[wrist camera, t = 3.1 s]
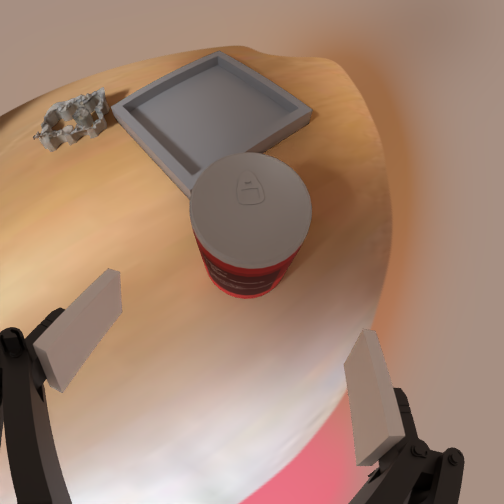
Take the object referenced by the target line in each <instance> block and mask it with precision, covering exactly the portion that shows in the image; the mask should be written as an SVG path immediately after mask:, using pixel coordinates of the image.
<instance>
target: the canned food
mask: <svg viewBox="0 0 504 504" xmlns="http://www.w3.org/2000/svg"><path fill="white" fill-rule="evenodd" d="M311 218H312V205H311V199H310V195H309V193H308V190H307V188H306V185H305V184H304V182H303V181H302V179H301V178H300V176H299V175H298V174H297V173H296V172H295V171H294V170H293V169H292V168H291V167H289V166H288V165H287V164H285V163H284V162H282V161H280V160H278V159H276V158H274V157H271V156H268V155H265V154H260V153H253V152H246V153H237V154H231V155H228V156H226V157H223V158H221V159H219V160H217V161H216V162H214V163H212V164H211V165H210V166H209V167H207V168H206V169H205V170H204V171H203V172H202V174H201V175H200V176H199V178H198V179H197V181H196V183H195V185H194V187H193V189H192V193H191V197H190V219H191V224H192V228H193V232H194V235H195V238H196V241H197V244H198V247H199V250H200V253H201V256H202V259H203V262H204V265H205V267H206V270H207V272H208V275H209V277H210V278H211V280H212V281H213V283H214V284H215V285H216V286H217V287H218V288H219V289H220V290H222V291H223V292H225V293H227V294H228V295H231V296H234V297H237V298H244V299H247V298H255V297H259V296H262V295H264V294H266V293H268V292H269V291H271V290H272V289H273V288H274V287H275V286H276V285H277V284H278V283H279V282H280V280H281V279H282V277H283V275H284V274H285V272H286V270H287V269H288V267H289V266H290V264H291V262H292V261H293V259H294V257H295V256H296V254H297V252H298V251H299V249H300V247H301V245H302V243H303V241H304V239H305V237H306V235H307V233H308V230H309V226H310V222H311Z"/></svg>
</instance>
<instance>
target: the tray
mask: <svg viewBox="0 0 504 504" xmlns="http://www.w3.org/2000/svg"><path fill="white" fill-rule="evenodd" d="M111 109H112V112H113V114H114V116H115V119H116V120H117V121H118V123H119V124H120V125H121V126H122V127H123V128H124V129H125V130H126V131H127V132H128V133H129V135H130V136H131V137H132V138H133V139H134V140H135V141H136V142H137V143H138V144H139V145H140V147H141V148H142V149H143V150H144V151H145V152H146V153H147V154H148V155H149V156H150V157H151V158H152V160H153V161H154V162H155V163H156V164H157V165H158V166H159V167H160V168H161V169H162V170H163V171H164V172H165V174H166V175H167V176H168V177H169V178H170V179H171V180H172V181H173V182H174V183H175V184H176V185H177V187H178V188H179V189H180V190H181V191H182V192H183V193H184V194H185V195H186V196H187V197H188V198H189V199H190V197H191V193H192V189H193V187H194V185H195V183H196V181H197V179H198V178H199V176H200V175H201V174H202V172H203V171H204V170H205V169H206V168H207V167H209V166H210V165H211V164H212V163H214V162H216V161H217V160H219V159H221V158H223V157H226V156H228V155H231V154H237V153H246V152H253V153H260V154H262V153H264V152H265V151H267V150H268V149H270V148H271V147H273V146H274V145H276V144H277V143H279V142H280V141H282V140H284V139H285V138H287V137H288V136H290V135H291V134H293V133H294V132H296V131H298V130H299V129H301V128H302V127H304V126H305V125H307V124H309V121H310V118H311V114H312V111H313V110H312V109H311V108H310V107H308V106H307V105H305V104H304V103H303V102H301V101H300V100H298V99H297V98H295V97H294V96H293V95H291V94H290V93H288V92H287V91H285V90H284V89H282V88H281V87H279V86H278V85H276V84H275V83H273V82H272V81H270V80H268V79H267V78H265V77H264V76H262V75H260V74H259V73H257V72H256V71H254V70H252V69H251V68H249V67H247V66H246V65H244V64H242V63H240V62H239V61H237V60H235V59H233V58H232V57H230V56H228V55H226V54H224V53H223V52H221V51H217V52H215V53H212V54H210V55H207V56H205V57H203V58H201V59H198V60H196V61H194V62H192V63H190V64H187V65H185V66H183V67H181V68H179V69H177V70H175V71H173V72H171V73H169V74H167V75H165V76H163V77H161V78H159V79H157V80H156V81H154V82H152V83H150V84H148V85H147V86H145V87H143V88H141V89H139V90H138V91H136V92H134V93H133V94H131V95H129V96H128V97H126V98H124V99H123V100H121V101H119V102H118V103H116V104H115V105H113V106H112V107H111Z"/></svg>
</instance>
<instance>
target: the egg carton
mask: <svg viewBox="0 0 504 504" xmlns="http://www.w3.org/2000/svg"><path fill="white" fill-rule="evenodd" d="M109 109H110V108H109V106H108V104H107V101H106V98H105V91H104V87H102V88H101V89H99V90H97V91H94V92H93V93H92V94H88V93H87V94H86V96H84V95H79V96H78V97H76V98H72V99H70V100H68V101H64V102H57V103H55V104H54V105H52V106H51V108H50V109H49V110H48V111H47V113H46V116H44V122H43V123H42V124H41V127H42V131H41V133H40V134H39V132H37V134H36V135H34V136H33V139H34V140H35V138H39V140H40V141H41V143H42V144H43V146H44V147H45V149H49V150H50V152H53V151H55V150H56V149H57V148H58V146H59V145H60V144H62V143H63V142H68V143H69V145H72V144H74V143H76V142H77V141H78V139H79V138H80V137H82V136H84V135H89V136H90V138H95V137H97V136H98V135H99V133H100V132H101V131H103V130H104V129H106V128H107V123H106V121H105V118H104V116H103V115H105V114H106V113H108V112H109ZM93 111H96V113H97V115H98V117H99V119H97V120H96V121H95V122H94V120H93V118H92V116H91V114H90V113H92V112H93ZM73 118H74V120H75V121H76V123H77V125H76V127H75V129H74V130H73V126H72V125H67V126H66V127H64V128H63V129H60V130H59V131H56V130H54V131H52V129H51V128H52V127H53V126H55V125H56V124H57V122H58V120H60V119H64V121H70V120H72V119H73ZM92 125H93V127H91V126H92Z"/></svg>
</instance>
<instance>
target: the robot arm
mask: <svg viewBox="0 0 504 504" xmlns="http://www.w3.org/2000/svg"><path fill="white" fill-rule="evenodd" d="M121 313H122V302H121V284H120V272H119V271H115V270H112V269H109V268H108V269H107V270H106V271H105V272H104V273H103V274H102V275H101V276H100V277H99V278H97V279H96V280H95V281H94V282H93V283H92V284H91V285H90V286H89V287H88V288H87V289H86V290H85V291H84V292H83V293H82V294H81V295H80V296H79V297H78V298H77V299H76V300H75V301H74V302H73V303H72V304H71V305H70V306H69V307H68V308H67V309H66V310H65V309H63V308H58V309H56V310H54V311H52V312H51V313H50V314H49V315H48V316H47V317H46V318H45V320H43V321H42V322H41V323H40V324H39V325H38V326H37V327H36V328H35V329H34V330H33V331H32V332H31V333H30V334H29V335H28V336H27V337H26V338H25V339H24V336H23V334H22V332H21V331H20V329H18V328H15V327H10V328H6V329H4V330H3V331H1V333H0V446H1V437H2V429H3V422H4V428H5V438H6V446H7V453H8V459H9V465H10V471H11V476H12V480H13V485H14V489H15V493H16V497H17V504H72V502H71V499H70V496H69V493H68V490H67V487H66V484H65V481H64V478H63V475H62V471H61V468H60V464H59V460H58V457H57V453H56V449H55V444H54V440H53V435H52V431H51V426H50V420H49V415H48V409H47V402H46V395H45V388H44V385H43V383H44V381H45V380H46V379H47V381H48V383H49V385H50V387H52V388H54V389H56V390H58V391H59V392H61V393H63V392H64V390H65V389H66V387H67V386H68V385H69V383H70V382H71V380H72V379H73V377H74V376H75V375H76V373H77V372H78V370H79V369H80V368H81V366H82V365H83V363H84V362H85V361H86V359H87V358H88V357H89V355H90V354H91V352H92V351H93V350H94V348H95V347H96V346H97V344H98V343H99V342H100V340H101V339H102V338H103V336H104V335H105V334H106V332H107V331H108V330H109V329H110V327H111V326H112V325H113V323H114V322H115V321H116V319H117V318H118V317H119V316H120V314H121ZM344 369H345V375H346V382H347V389H348V396H349V402H350V409H351V418H352V426H353V435H354V444H355V454H356V465H357V466H372V465H373V464H374V463H376V462H377V461H378V460H379V468H377V469H376V470H374V471H373V472H372V473H371V474H370V475H368V477H370V476H371V477H370V478H369V480H368V481H367V482H366V483H365V484H364V486H363V487H362V488H361V489H360V491H359V492H358V493H357V494H356V495H355V497H354V498H353V499H352V500H351V501H350V503H349V504H458V500H459V494H460V488H461V483H462V476H463V469H464V456H463V454H462V453H461V452H460V450H458V449H456V448H448V449H447V450H446V451H445V452H443V453H441V452H436V451H433V450H429V447H428V445H427V444H426V443H425V442H424V441H422V440H420V439H419V438H418V436H417V432H416V428H415V424H414V421H413V417H412V414H411V410H410V407H409V403H408V399H407V397H406V395H405V393H404V392H403V391H402V390H401V388H393V386H392V382H391V379H390V375H389V372H388V369H387V365H386V362H385V359H384V356H383V352H382V349H381V346H380V344H379V340H378V337H377V334H376V331H373V330H367V329H363V330H362V332H361V334H360V336H359V337H358V339H357V341H356V343H355V345H354V347H353V349H352V351H351V353H350V354H349V356H348V358H347V360H346V362H345V363H344Z"/></svg>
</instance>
